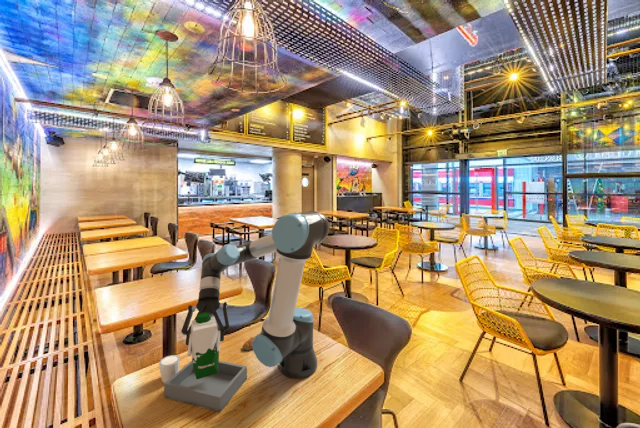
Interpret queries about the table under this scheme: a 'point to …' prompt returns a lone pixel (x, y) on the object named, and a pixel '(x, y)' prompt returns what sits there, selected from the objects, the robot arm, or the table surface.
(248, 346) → the pastry
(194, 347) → the soya milk
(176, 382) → the bin
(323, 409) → the table surface
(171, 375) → the white round container
